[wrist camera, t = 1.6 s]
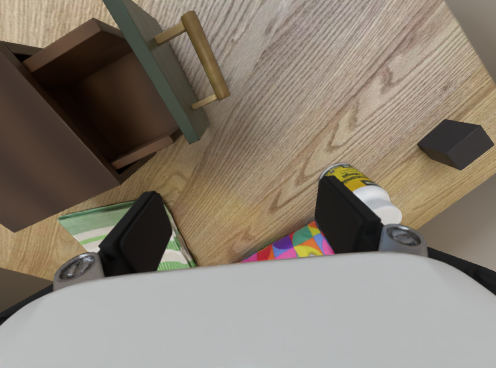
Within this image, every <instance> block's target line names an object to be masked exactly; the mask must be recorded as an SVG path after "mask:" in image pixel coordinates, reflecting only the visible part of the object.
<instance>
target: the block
mask: <svg viewBox="0 0 496 368" xmlns="http://www.w3.org/2000/svg"><path fill="white" fill-rule="evenodd" d="M417 145H418V146H419V147H420V148H421V149H422V150H423V151H424V152H425V153H426V154H427V155H428V156H429V157H430V158H431V159H432V160H435V161H438V162H440V163H443V164H445V165H448V166H451V167H453V168H456V169H458V170H462V169H464V168H465V167H466V166H468V165H469V164H470V163H472V162H473V161H474V160H476V159H477V158H478V157H480V156H481V155H482V154H483V153H485V152H486V151H487V150H489V149H490V148H491V147H493V146H494V143H493V142H492V140H491V139H490V138H489V136H488V135H487V133H486V132H485V131H484V129H483V128H482V127H481V125H475V124H469V123H464V122H458V121H452V120H446V119H445V120H444V121H443V122H441V123H440V124H439V125H438V126H437V127H436V128H435V129H434V130H432V131H431V132H430V133H429V134H428V135H427V136H426V137H425V138H424V139H422V140H421V141H420V142H419V143H418V144H417Z"/></svg>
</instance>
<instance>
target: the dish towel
mask: <svg viewBox="0 0 496 368" xmlns="http://www.w3.org/2000/svg"><path fill="white" fill-rule="evenodd" d="M136 201H137V200H135V201H130V202H125V203H119V204H115V205H110V206H105V207H100V208H95V209H90V210H86V211H82V212H78V213H72V214H68V215H64V216H61V217H59V218H57V220H58V221H59V223H60V224H61V225H62V226H63V227H64V228H65V229H66V230H67V231H68V232H69V233H70V234H71V235H72V236H73V237H74V238H75V239H76V240H77V241H78V242H79V243H80V244H81V245H82V246H83V247H84V248H85V249H86V250H87V251H88V252H95V253H98V251H99V250H100V248H99V247H98V245H99V244H100V243H101V242H102V241H103V239H104V238H105V237H106V236H107V235H108V234H109V232H110V231H111V230H112V229H113V228H114V227H115V225H116V224H117V223H118V222H119V221H120V219H121V218H122V217H123V216H124V215H125V214H126V212H127V211H128V210H129V209H130V208H131V207H132V205H133V204H134V203H135V202H136ZM164 207H165V210H166V212H167V215H168V218H169V221H170V223H171V226H172V230H173V232H172V236H171V238H170V241H169V243H168V245H167V248H166V250H165V252H164V255H163V257H162V259H161V262H160V264H159V267H158V269H157V271H163V270H173V269H182V268H192V267H198V266H197V265H196V264H195V262H194V260H193V258H192V257H191V256H190V254H189V252H188V250H187V248H186V245H185V243H184V240H183V238H182V236H181V235H180V233H179V231H178V230H177V227H176V225H175V223H174V220H173V218H172V216H171V214H170V212H169V211H168V209H167V208H166V206H165V205H164Z"/></svg>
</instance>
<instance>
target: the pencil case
mask: <svg viewBox="0 0 496 368" xmlns="http://www.w3.org/2000/svg"><path fill="white" fill-rule="evenodd" d="M330 254H335V253H334V252H333V250H332V248H331V246H330V245H329V243H328V241H327V240H326V238H325V236H324V234H323V233H322V231H321V229H320V227H319V226H318V224H317V222H316V220H315V221H312V222H311V223H310V224H308V225H306V226H303V227H302V228H301V229H299V230H297V231H295V232H293V233H291V234H289V235H287V236H285V237H283V238H281V239H279V240H277V241H276V242H274V243H272V244H270V245H268V246H267V247H265V248H264V249H263V250H261V251H258V252H256V253H254V254H252V255H251V256H250V257H248V258H245V259H243V260H242V261H240V262H239V263H243V262H253V261H264V260H274V259H285V258H296V257H307V256H318V255H330Z"/></svg>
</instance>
